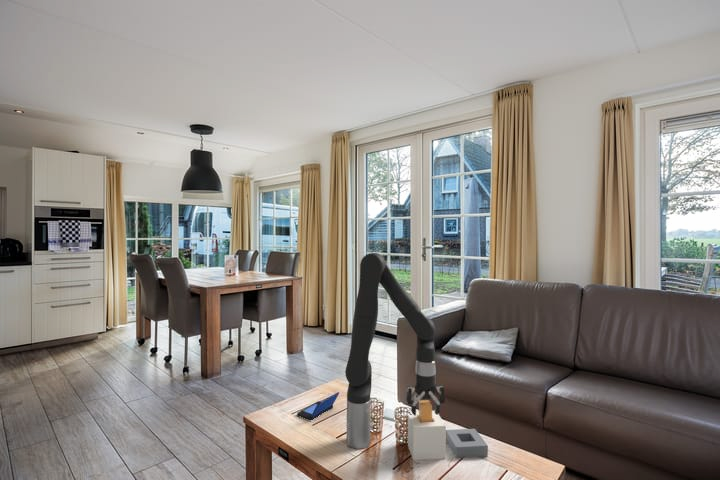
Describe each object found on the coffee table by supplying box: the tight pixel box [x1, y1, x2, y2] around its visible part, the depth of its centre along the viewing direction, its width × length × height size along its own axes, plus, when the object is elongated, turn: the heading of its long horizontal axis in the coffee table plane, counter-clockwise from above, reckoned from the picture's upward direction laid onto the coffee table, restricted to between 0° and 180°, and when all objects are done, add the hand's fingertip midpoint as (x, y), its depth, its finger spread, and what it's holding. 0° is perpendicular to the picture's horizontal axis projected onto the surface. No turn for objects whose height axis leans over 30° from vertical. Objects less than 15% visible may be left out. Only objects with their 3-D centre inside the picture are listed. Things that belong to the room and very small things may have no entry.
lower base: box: [446, 428, 489, 459], centre depth 140 cm, size 12×12×4 cm
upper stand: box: [406, 409, 447, 461], centre depth 139 cm, size 12×12×12 cm
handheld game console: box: [296, 391, 340, 421], centre depth 167 cm, size 16×13×9 cm
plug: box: [418, 399, 433, 422], centre depth 138 cm, size 4×4×9 cm
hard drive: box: [383, 406, 395, 422], centre depth 167 cm, size 2×8×12 cm
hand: (425, 414), depth 138 cm, fingers open, 8 cm apart
